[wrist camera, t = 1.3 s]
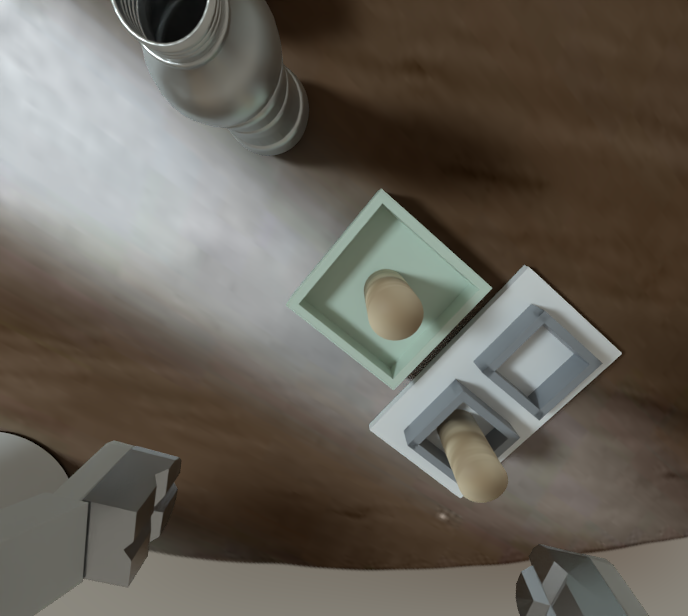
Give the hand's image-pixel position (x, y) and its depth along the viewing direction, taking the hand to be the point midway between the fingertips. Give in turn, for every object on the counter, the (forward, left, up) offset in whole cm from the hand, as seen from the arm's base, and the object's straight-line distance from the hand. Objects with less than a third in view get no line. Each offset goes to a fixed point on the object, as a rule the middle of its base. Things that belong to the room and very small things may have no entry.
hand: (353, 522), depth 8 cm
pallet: (+1, -18, -28) cm, 33 cm away
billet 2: (-4, -18, -27) cm, 33 cm away
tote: (+2, -3, -28) cm, 28 cm away
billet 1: (+2, -3, -27) cm, 27 cm away
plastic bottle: (+7, +14, -28) cm, 32 cm away
